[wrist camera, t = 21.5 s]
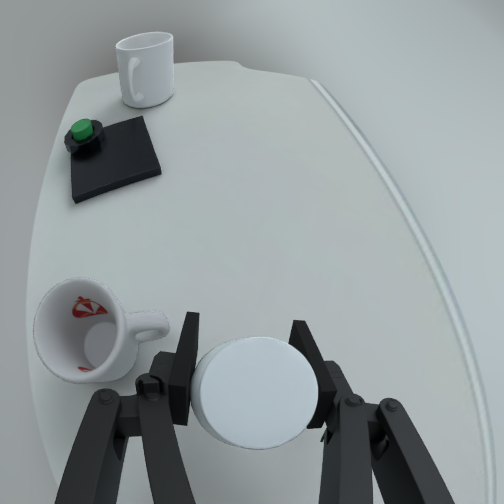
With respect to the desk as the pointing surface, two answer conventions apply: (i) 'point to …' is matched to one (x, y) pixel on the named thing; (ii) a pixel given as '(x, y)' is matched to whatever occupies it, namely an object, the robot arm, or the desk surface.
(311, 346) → the robot arm
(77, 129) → the tare button
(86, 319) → the cup
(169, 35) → the mug
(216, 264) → the desk surface
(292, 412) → the pill bottle
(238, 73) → the desk surface
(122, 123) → the scale
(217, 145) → the desk surface
